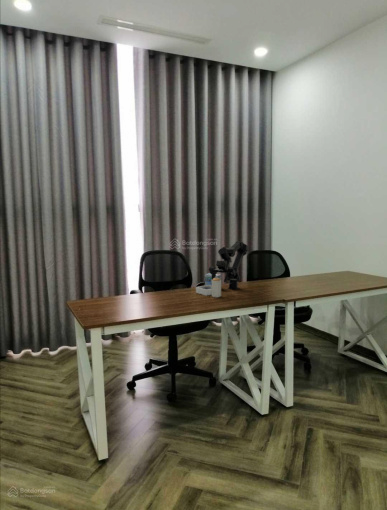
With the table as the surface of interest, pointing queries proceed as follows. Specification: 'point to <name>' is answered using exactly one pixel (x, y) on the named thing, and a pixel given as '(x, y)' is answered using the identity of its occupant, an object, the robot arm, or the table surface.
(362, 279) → the table surface
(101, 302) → the table surface
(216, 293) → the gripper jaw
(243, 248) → the robot arm
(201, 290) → the housing
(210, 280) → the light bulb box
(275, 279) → the table surface
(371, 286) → the table surface
